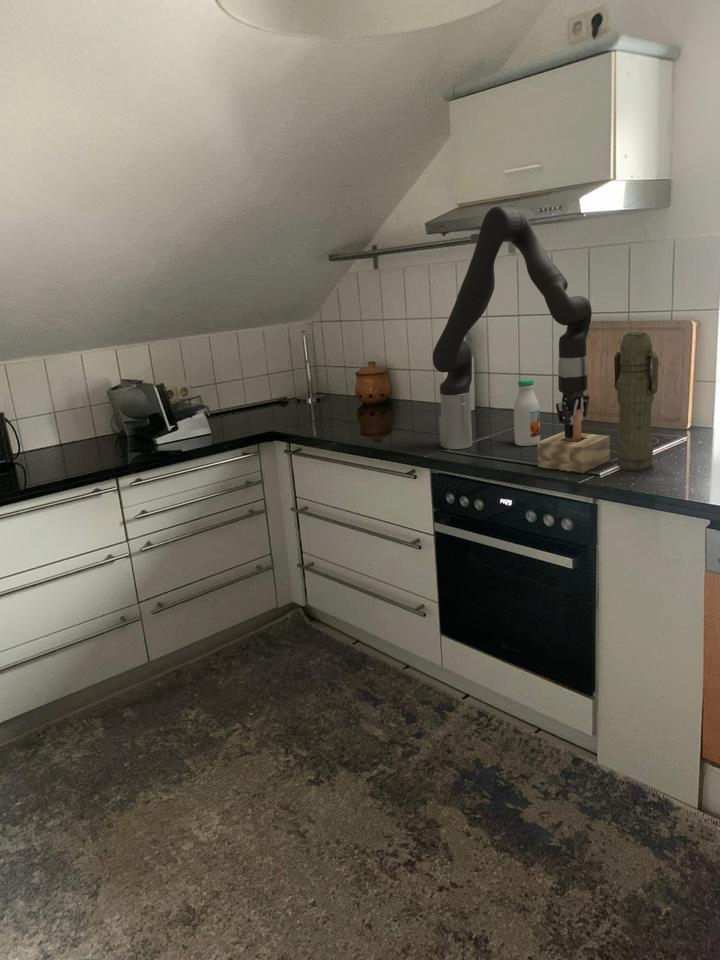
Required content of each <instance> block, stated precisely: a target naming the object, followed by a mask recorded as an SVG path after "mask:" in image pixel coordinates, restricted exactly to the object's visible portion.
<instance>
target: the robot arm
mask: <svg viewBox="0 0 720 960" xmlns="http://www.w3.org/2000/svg"><path fill="white" fill-rule="evenodd" d="M506 242H510V243H511V244H513V245H514V247H516V248H517V249H518V250H519V252H520V253H521V255H522V256H523V259H524V261H525V266H526V270H527V274H528V277H529V279H530V280H531V282H532V283H533V285H535V287H536V288H537V290H538V291H539V292H540V294H541V295H542V296H543V297H544V301H545V303H546V306H547V308H548V311H549V313H550V315H551V317H552V319H554V321H556V322H557V323H558V324H559V325H561V326H567V327H566V331H565V333H563V334H562V335H561V336H560V337H559V338H558V339H559V340H558V363H557V364H558V365H557V370H558V371H557V373H558V374H557V378H558V382H557V384H558V386H557V387H558V391H559V392H560V393H561V394H562V398H561V402H559V403H557V402H556V404H555V409H556V414H557V417H558V421H559V424H563V425H564V431H565V437H566V438H573V419H574V416H575V415H576V410H578V409H581V434H582V433H583V421H584V418H586V417H587V416H588V415H587V414H588V409H589V404H590V397H591V396H590V395H588V394H587V395H586V394H584V392H586V391H587V390H588V358H587V338H588V334H589V330H590V327H591V320H592V312H593V311H592V306H591V303H590V301H589V300H588V298H586V297H585V296H584V295H576V296H569V295H568V293H567V292H566V291H567V289H568V287H569V284H568V280H567V278H565V276H564V275H563V273H562V272H561V271H560V270H559V268H558V267H557V265H556V264H555V263H554V262H553V260H552V259H551V258H550V257H549V255H548V254H547V252H546V251H545V249H544V247H543V245H542V243H541V241H540V239H539V238H538V236H537V234H536V232H535V231H534V229H533V227H532V225H531V222H530V220H529V219H528V217H527V216H526V214H525V212H524V211H523V210H522V209H521V208H519V207H517V206H511V205H499V206H494V207H491V208H490V209H489V210H488V211H487V212H486V214H485V216H484V218H483V221H482V223H481V226H480V231H479V233H478V238H477V241H476V244H475V248H474V251H473V255H472V257H471V260H470V263H469V265H468V268H467V271H466V274H465V276H464V279H463V281H462V283H461V286H460V289H459V290H458V293H457V296H456V300H455V303H454V304H453V308H452V310H451V312H450V316H449V317H448V320H447V322H446V325H445V327H444V329H443V331H442V333H441V335H440V337H439V338H438V341H436V344H435V347H434V349H433V352H432V363H433V364H432V365H433V366H434V368H435V369H436V370H437V371H438V372H440V373H447V375H446V378H445V379H444V380H443V381H442V382H441V383H440V385H439V397H440V399H439V400H440V412H441V413H440V414H441V416H439V418H438V423H439V438H440V439H439V441H440V447H443V448H444V449H447V450H463V449H468V448H471V447H472V446H473V433H472V432H473V431H472V430H473V429H472V428H473V427H472V408H471V384H472V381H473V357H472V356H473V355H472V351H471V350H472V349H471V347H470V345H469V344H468V343H467V341H465V340H464V339H465V338H466V336H467V334H468V333H469V332H470V330H472V328H473V326H475V324H476V323H477V322H478V321H479V320H480V318H481V317H482V315H484V313H485V311H486V310H487V308H488V306H489V304H490V301H491V299H492V295H493V293H494V291H495V285H496V282H495V281H496V280H495V279H496V278H495V262H496V259H497V256H498V253H499V250H500V249H501V246H502V245H503V243H506ZM568 411H572V413H568ZM569 416H570V420H569Z"/></svg>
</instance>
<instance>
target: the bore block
mask: <svg viewBox="0 0 720 960" xmlns="http://www.w3.org/2000/svg"><path fill="white" fill-rule="evenodd" d="M610 439H611V436H610V435H605V434H604V435H603V434H593V433H586V432H582V434H581V441H580V442H569V441H566V437H565V430H564V431H561V432H560V433H557V434H554V435H552V436H550V437H549V436H548V437H547V438H545V439H542V440H540V441H539V442H537V445H536V446H537V447H536V450H537V467H538V468H544V469H552V470H557V469H558V471H564V470H565V471H564V472H571V471H573V472H572V473H578V472H579V473H580V474H585V472H586V471H588V470H590V469H592V470H594V469H596V468H598V467H599V465H600V466H602V465H604V464H606V463H608V462H610V461H609V460H611V449H610V448H611V447H610V446H611V445H610V443H611V441H610ZM607 461H608V462H607ZM605 462H606V463H605ZM603 463H604V464H603ZM601 464H602V465H601ZM597 466H598V467H597ZM595 467H596V468H595ZM593 468H594V469H593ZM574 471H575V472H574ZM590 471H591V470H590ZM588 472H589V471H588ZM586 473H587V472H586Z"/></svg>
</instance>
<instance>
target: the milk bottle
mask: <svg viewBox="0 0 720 960" xmlns="http://www.w3.org/2000/svg"><path fill="white" fill-rule="evenodd" d="M517 384H518V385H517V387H518V392H517V397H516V398H515V401H514V406H513V426H514V444H515V445H517V446H522V447H532V446H537V442H539V441H541V420H540V405H539V401H538V398H537V396H536V394H535V391H534V387H535V386H534V384H535V383H534V379H532V378H524V379H523V378H522V379H519V380H517Z"/></svg>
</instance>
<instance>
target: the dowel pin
mask: <svg viewBox="0 0 720 960" xmlns="http://www.w3.org/2000/svg"><path fill="white" fill-rule="evenodd" d="M568 413H572V411H568ZM569 420H570V416H569ZM566 441H569V442H580V441H581V409H578V410H576V415H575V416H574V419H573V438H566Z"/></svg>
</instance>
